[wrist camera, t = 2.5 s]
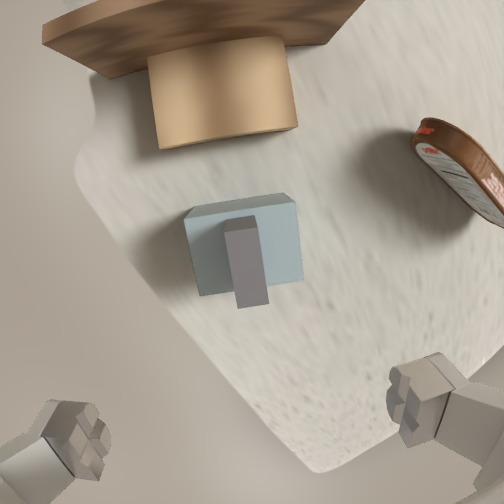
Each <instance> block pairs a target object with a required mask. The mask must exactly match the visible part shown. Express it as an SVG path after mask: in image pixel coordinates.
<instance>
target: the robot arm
mask: <svg viewBox="0 0 504 504" xmlns="http://www.w3.org/2000/svg"><path fill="white" fill-rule="evenodd" d="M389 380H390V381H391V383H392V385H391V387H390V388H389V389H388V390H387V396H386V404H387V410H388V413H389V415H390V417H391V419H392V421H393V422H395V423H397V424H400V428H399V434H400V435H401V437H402V439H403V441H404V443H405V444H406V446H407V448H410V447H413V446H416V445H419V444H422V443H424V442H427V441H430V440H432V439H435V441H437V442H439V443H440V444H442V445H444V446H446V447H448V448H449V449H451V450H453V451H455V452H456V453H458V454H460V455H462V456H464V457H466V458H467V459H469V460H471V461H473V462H475V463H477V464H479V465H481V466H482V469H481V470H480V472H479V474H478V475H477V477H476V478H475V480H474V482H473V484H474V486H475V488H476V490H477V492H475V493H473V494H471V495H470V496H468V497H466V498H464V499H462V500H460V501H458V502H456V503H454V504H504V390H501V389H497V388H494V387H491V386H488V385H485V384H481V383H478V382H472V383H470V382H469V381H468V380H467V379H466V378H465V377H464V375H463V374H462V373H461V372H460V371H459V370H458V369H457V368H456V367H455V366H454V365H453V364H452V363H451V362H450V361H449V360H448V359H447V358H446V357H445V355H444V354H442V353H440V352H437V353H435V354H432V355H429V356H426V357H424V358H421V359H417V360H414V361H411V362H408V363H404V364H401V365H398V366H394V367H392V368H391V370H390V374H389ZM98 416H99V411H98V409H97V408H96V406H95V405H94V404H92V403H87V402H74V401H60V400H49V401H47V402H46V403H45V405H44V406H43V408H42V409H41V411H40V413H39V414H38V416H37V417H36V419H35V421H34V422H33V424H32V425H31V427H30V429H29V430H28V432H27V434H24V433H22V434H21V435H19V436H17V437H16V438H14V439H12V440H11V441H9V442H7V443H6V444H4V445H2V446H1V447H0V504H50V503H51V502H52V501H53V500H54V499H55V498H56V497H57V496H58V495H59V494H60V493H61V492H62V491H63V490H65V489H66V488H67V486H69V485H70V484H71V483H72V482H73V481H74V480H75V478H79V479H86V480H94V481H99V480H100V477H101V474H102V471H103V468H104V465H105V464H104V462H103V460H102V458H103V457H104V456H106V455H107V454H108V453H109V450H110V447H111V436H110V432H109V429H108V427H107V426H106V424H105V423H104V422H102V421H101V420H100V419H98Z"/></svg>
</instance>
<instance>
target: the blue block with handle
mask: <svg viewBox="0 0 504 504" xmlns="http://www.w3.org/2000/svg"><path fill="white" fill-rule="evenodd" d="M184 224H185V229H186V234H187V239H188V244H189V249H190V254H191V259H192V263H193V268H194V273H195V277H196V282H197V286H198V291H199V295H200V296H205V295H212V294H219V293H226V292H233V291H235V296H236V302H237V307H238V309H239V308H246V307H252V306H259V305H265V304H269V300H268V293H267V286H272V285H278V284H284V283H291V282H297V281H303V280H304V275H303V265H302V255H301V246H300V237H299V228H298V219H297V211H296V203H295V201H294V200H292V199H291V198H290V197H289V196H287V195H286V194H285V193H277V194H270V195H263V196H257V197H250V198H243V199H237V200H231V201H225V202H218V203H212V204H206V205H201V206H195V207H193V209H192V210H191V211H190V212H189V213H188V215H187V216H186V217H185V218H184Z"/></svg>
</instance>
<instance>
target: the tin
mask: <svg viewBox="0 0 504 504" xmlns="http://www.w3.org/2000/svg"><path fill="white" fill-rule="evenodd" d="M412 147H413V149H414V151H415V152H416V154H417V155H418V156H419V157H420V158H421V159H422V160H423V161H424V162H425V163H426V164H427V165H428V166H429V167H430V168H431V169H432V170H433V171H434V172H435V173H436V174H437V175H438V176H439V177H440V178H441V179H442V180H443V181H444V182H445V183H446V184H447V185H448V186H449V187H450V188H451V189H452V190H453V191H454V192H455V193H456V194H457V195H458V196H459V197H460V198H461V199H462V200H463V201H464V202H465V203H466V204H467V205H468V206H470V207H471V208H472V209H473V210H474V211H475V212H476V213H478V214H479V215H480V216H482V217H483V218H484V219H486V220H487V221H489V222H490V223H493V224H496V225H498V226H500V227H501V228H503V229H504V173H503V172H502V171H501V170H500V168H499V167H498V165H497V164H496V163H495V162H494V160H493V159H492V158H491V157H490V155H489V154H488V153H487V152H486V150H485V149H484V148H483V147H482V146H481V145H480V144H479V143H478V142H477V141H476V140H474V139H473V138H472V137H471V136H470V135H468V134H467V133H465V132H464V131H462V130H461V129H459V128H458V127H456V126H454V125H452V124H450V123H448V122H446V121H443V120H440V119H436V118H424V119H423V120H422V121H421V125H420V126H419V128H418V130H417V131H416V133H415V135H414V137H413V139H412Z"/></svg>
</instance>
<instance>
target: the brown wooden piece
mask: <svg viewBox="0 0 504 504" xmlns="http://www.w3.org/2000/svg"><path fill="white" fill-rule="evenodd" d="M364 1H365V0H99V1H96V2H94V3H91V4H89V5H86V6H84V7H81V8H79V9H76V10H74V11H72V12H69V13H67V14H65V15H63V16H60V17H58V18H56V19H54V20H52V21H50V22H48V23H46V24H44V25H43V30H42V44H43V45H45V46H47V47H49V48H51V49H53V50H55V51H57V52H59V53H61V54H63V55H65V56H67V57H69V58H71V59H73V60H75V61H77V62H79V63H81V64H83V65H84V66H86V67H88V68H90V69H92V70H94V71H96V72H98V73H99V74H101V75H103V76H105V77H107V78H109V79H112V78H116V77H119V76H122V75H125V74H129V73H132V72H136V71H140V70H143V69H147V68H148V71H149V79H150V87H151V95H152V103H153V110H154V117H155V124H156V131H157V137H158V144H159V149H171V148H176V147H181V146H186V145H191V144H196V143H202V142H207V141H213V140H219V139H225V138H231V137H237V136H244V135H251V134H258V133H266V132H274V131H282V130H291V129H294V128H296V127H298V122H297V115H296V109H295V102H294V96H293V90H292V84H291V79H290V73H289V67H288V62H287V56H286V51H285V46H293V45H318V44H327V43H328V42H329V40H330V39H331V38H332V37H333V36H334V35H335V33H336V32H337V31H338V30H339V29H340V28H341V27H342V25H343V24H344V23H345V22H346V21H347V20H348V19H349V18H350V17H351V15H352V14H353V13H354V12H355V11H356V10H357V9H358V8H359V7H360V6H361V4H362V3H363V2H364Z"/></svg>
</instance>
